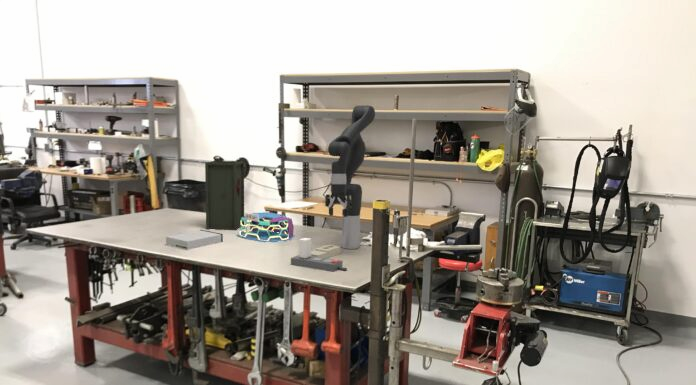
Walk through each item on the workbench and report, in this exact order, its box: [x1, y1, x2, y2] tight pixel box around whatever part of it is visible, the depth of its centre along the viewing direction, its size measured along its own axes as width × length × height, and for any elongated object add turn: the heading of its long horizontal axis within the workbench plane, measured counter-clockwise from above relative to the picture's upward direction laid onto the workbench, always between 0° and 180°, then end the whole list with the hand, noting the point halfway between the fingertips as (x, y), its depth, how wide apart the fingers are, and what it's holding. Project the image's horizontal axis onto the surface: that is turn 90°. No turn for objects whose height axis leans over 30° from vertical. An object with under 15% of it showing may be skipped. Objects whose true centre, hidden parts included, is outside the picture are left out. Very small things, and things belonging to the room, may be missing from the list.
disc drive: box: [165, 229, 224, 251], centre depth 260 cm, size 18×22×5 cm
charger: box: [298, 237, 312, 259], centre depth 223 cm, size 5×4×12 cm
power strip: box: [290, 254, 348, 273], centre depth 220 cm, size 8×26×4 cm, turn 63°
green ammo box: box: [204, 160, 245, 231], centre depth 303 cm, size 18×18×40 cm
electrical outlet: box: [311, 244, 341, 259], centre depth 238 cm, size 7×4×18 cm
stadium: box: [236, 211, 295, 243], centre depth 280 cm, size 35×24×14 cm
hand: (338, 216), depth 242 cm, fingers open, 8 cm apart
